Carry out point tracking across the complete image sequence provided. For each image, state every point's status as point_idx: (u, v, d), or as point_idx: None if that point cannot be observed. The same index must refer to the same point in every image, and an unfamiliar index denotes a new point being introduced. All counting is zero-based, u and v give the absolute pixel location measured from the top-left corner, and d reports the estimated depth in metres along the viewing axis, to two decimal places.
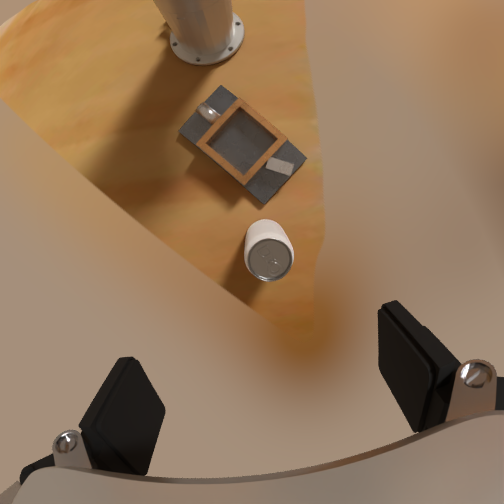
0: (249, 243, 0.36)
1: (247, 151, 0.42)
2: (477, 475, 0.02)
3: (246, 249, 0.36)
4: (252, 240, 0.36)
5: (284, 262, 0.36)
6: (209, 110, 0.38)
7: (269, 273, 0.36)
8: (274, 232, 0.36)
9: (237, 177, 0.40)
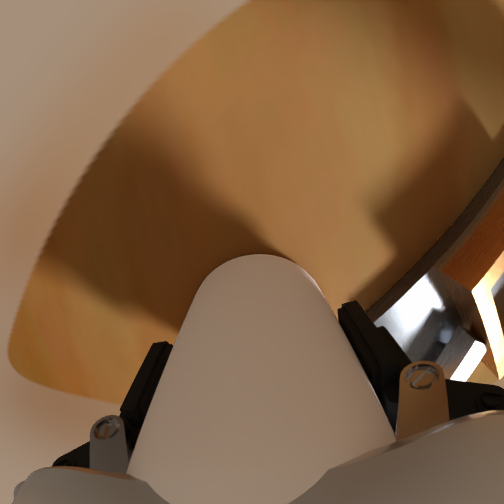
0: None
1: None
2: (477, 475, 0.02)
3: None
4: None
5: None
6: None
7: None
8: None
9: (492, 270, 0.09)
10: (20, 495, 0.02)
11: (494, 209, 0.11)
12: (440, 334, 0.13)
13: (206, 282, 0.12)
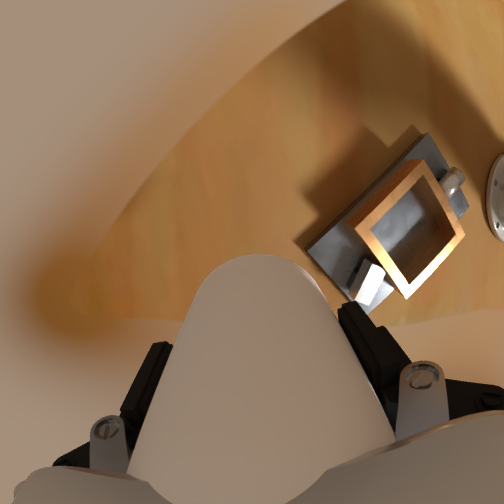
0: None
1: (389, 231, 0.26)
2: (477, 475, 0.02)
3: None
4: None
5: None
6: (456, 189, 0.22)
7: None
8: None
9: (368, 218, 0.22)
10: (20, 495, 0.02)
11: (380, 188, 0.24)
12: (354, 264, 0.26)
13: (206, 282, 0.12)
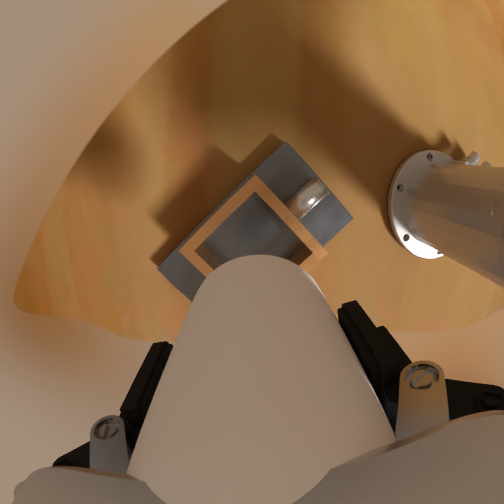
0: None
1: (238, 250, 0.28)
2: (477, 475, 0.02)
3: None
4: None
5: None
6: (313, 201, 0.24)
7: None
8: None
9: (191, 241, 0.24)
10: (20, 495, 0.02)
11: (219, 208, 0.26)
12: None
13: (206, 283, 0.12)
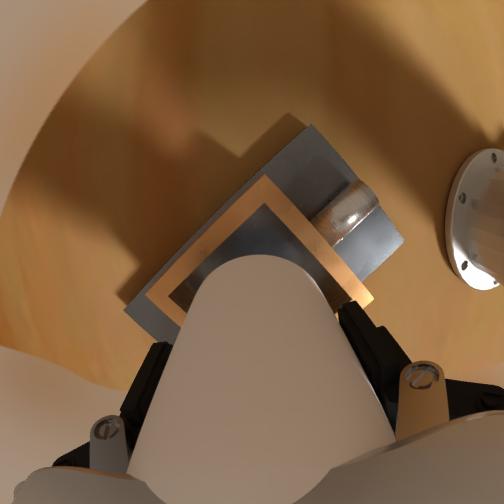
0: None
1: None
2: (477, 475, 0.02)
3: None
4: None
5: None
6: (356, 219, 0.15)
7: None
8: None
9: (163, 281, 0.15)
10: (20, 495, 0.02)
11: None
12: None
13: (206, 283, 0.12)
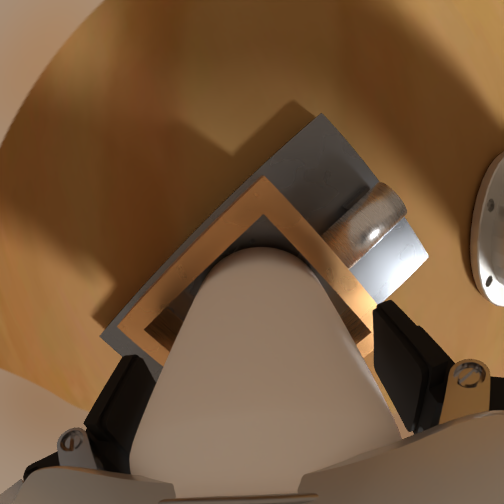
0: (385, 433, 0.04)
1: None
2: (477, 475, 0.02)
3: (354, 425, 0.04)
4: None
5: None
6: (379, 234, 0.11)
7: None
8: None
9: (137, 312, 0.12)
10: (20, 495, 0.02)
11: None
12: None
13: (212, 271, 0.13)
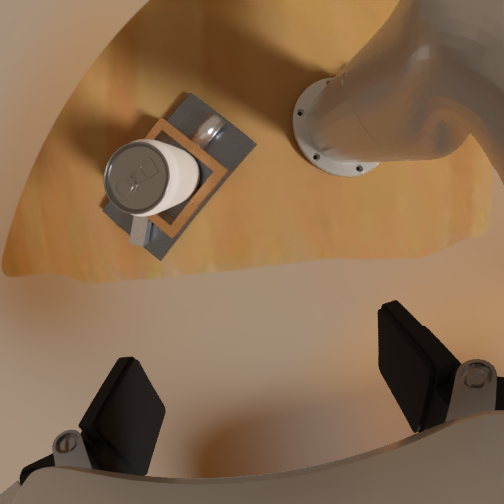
0: (161, 144, 0.20)
1: None
2: (477, 475, 0.02)
3: (152, 140, 0.20)
4: (166, 148, 0.20)
5: (132, 201, 0.20)
6: (210, 130, 0.28)
7: (115, 179, 0.20)
8: (179, 183, 0.22)
9: None
10: (20, 495, 0.02)
11: None
12: None
13: None
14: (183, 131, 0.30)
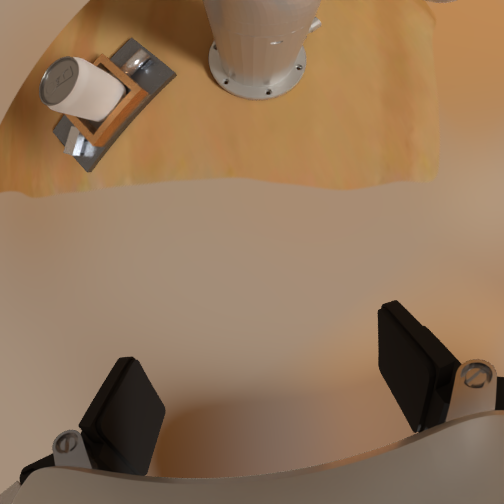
0: (81, 59, 0.20)
1: None
2: (477, 475, 0.02)
3: (76, 57, 0.20)
4: (83, 61, 0.20)
5: (53, 97, 0.20)
6: (135, 61, 0.27)
7: (46, 83, 0.19)
8: (87, 84, 0.21)
9: None
10: (20, 495, 0.02)
11: None
12: None
13: None
14: (120, 66, 0.29)
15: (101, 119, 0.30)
